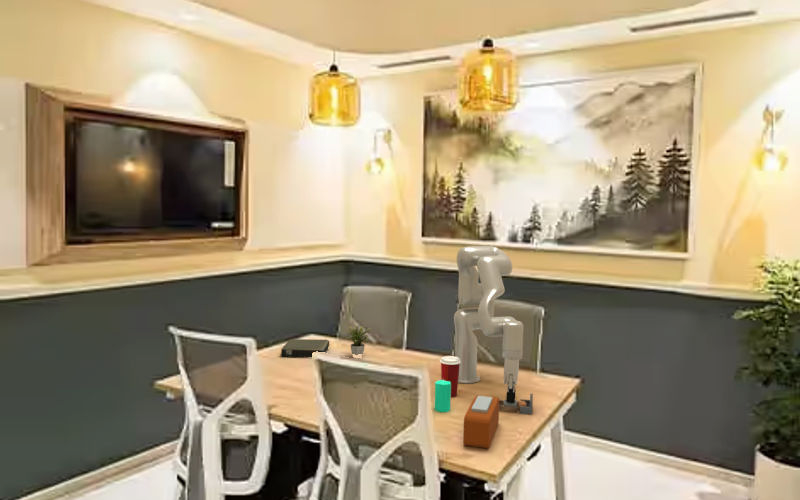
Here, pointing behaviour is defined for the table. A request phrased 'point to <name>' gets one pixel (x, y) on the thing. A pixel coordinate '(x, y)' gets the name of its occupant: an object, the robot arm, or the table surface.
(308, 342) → the network switch
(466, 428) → the alarm clock
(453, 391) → the coffee cup
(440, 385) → the candle
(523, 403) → the ball
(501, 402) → the frame
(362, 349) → the house plant
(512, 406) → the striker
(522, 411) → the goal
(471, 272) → the robot arm
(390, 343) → the table surface
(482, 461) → the table surface
